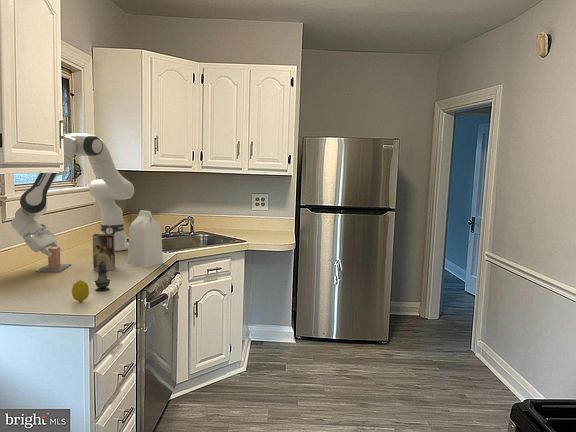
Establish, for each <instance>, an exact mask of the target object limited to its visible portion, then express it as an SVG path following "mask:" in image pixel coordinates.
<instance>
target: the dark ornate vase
mask: <svg viewBox="0 0 576 432" xmlns="http://www.w3.org/2000/svg"><path fill="white" fill-rule="evenodd" d="M107 272H108V270H106V263H105V262H104V261H103V260H101V262H100V263H99V264H98V271H97V273H98V276H97V278H96V279H95V280H94V284H95V287H97V288H96V289H95V292H98V293H99V292H100V293H101V292H102V293H103V292H108V291H111V288H110V287H109V286H110V284H111V281H112V280H111V279H109V278H108V277H107V276H108V274H107Z"/></svg>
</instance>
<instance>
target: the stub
mask: <svg viewBox="0 0 576 432" xmlns="http://www.w3.org/2000/svg"><path fill="white" fill-rule="evenodd" d="M60 249H61V247H60V246H58V247H51V246H50V247H48V248H47V250H48V251H51V252H52V253H53V255H52V256H50V257H48V256H47V263H48V264H47V265H48V268H58V267H60V264H61V251H60Z"/></svg>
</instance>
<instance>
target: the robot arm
mask: <svg viewBox="0 0 576 432" xmlns="http://www.w3.org/2000/svg"><path fill="white" fill-rule="evenodd" d="M64 135H65V136H64V171H63V172H59V173H40V172H39V173H38V176H37V177H36V179H35V181H34V182H33V184H32V186H31V187H29V188H28V189H27V190H26V191H24V193H22V195H21V196H20V199H19V200H20V204H21V208H19V209H18V210H17V211H16V213H15V218H14V219H13V220H12V221H11V225H12V227H13V228H12V227H11V228H12V229H14V230H15V231H16V232H17V234H18V235H19V236H20V237H21V238H22V239H23V240H24V242H25V244H26V245H27V247H29V249H30V250H31V251H32V252H34V253H40V252H41V253H42V254H44V255H46V256H47V258H48V257H50V256H52V255H53V253H52V252H51V251H48V248H50V247H59V246H58V244H57V242H59V239H58V237H56V235H55V234H54V233H53V232H52V231H51V230H50V229H48V226H47V225H45V224H44V223H40V222H37V220H36V219H38V218H40V217H41V216H44V215H45V213H46V211H47V209H48V207H47V205H48V204H47V194H48V191H49V189H50V188H51V186H52V183H53V181H54V180H55V179H56V178H57V176H58V177H59V176H62V175H64V174H65V173H66V171H67V170H68V169H69V167H70V165H71V163H72V161H73V159H74V157H75V156H80V157H83V156H84V157H87V158H88V161H89V163H90V166H91V169H92V172H93V174H94V175H95V176H96V177H97V178H99V179H94V180H91V182H90V184H89V185H88V186H89V187H88V188H89V189H88V190H89V191H88V192H89V194H90V195H91V196H92V197H93V198H94V199H95V200H96V202H97V204H98V206H99V210H100V218H101V224H100V233H99V232H98V234H114V238H115V252H119V251H124V250H125V251H126V250H127V251H128V246H129V240H128V238H127V235H126V232H125V231H124V230H125V224H124V220H123V219H124V218H123V217H124V216H123V210H122V208H121V207H120V206H119V205H117V204H116V202H115V201H116V200H117V201H125V200H128V199H131V198H132V197H133V196H134V194H135V187H134V185H133V183H132V182H131V181H129V180H128V179H126V178H125V177H124V176H123V175H121V173H120V172H119V171H118V169H117V168H116V166H115V163H114V161H113V157H112V155H111V153H110V151H109V148H108V146H107V145H106V143H105V142H104V140H103V139H102V138H100V137H99V136H97V135H94V134H88V133H82V132H80V133H71V132H69V133H65V134H64ZM61 251H62V249H61V248H60V252H61Z"/></svg>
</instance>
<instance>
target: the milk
mask: <svg viewBox="0 0 576 432" xmlns="http://www.w3.org/2000/svg"><path fill="white" fill-rule="evenodd" d="M161 226H162V225H160V223H159V222H158V221H157V220H156V219H155V218H154V217H153V216H152V212H151V211H150V210H143V209H142V210H139V213H138V216H137V217H136V218H134V220H133V221H132V222H131V224H130V225H129V229H128V243H129V246H128V249H127V251H128V252H127V265H132V266H137V267H141V268H147V267H153V266H156V265H157V266H158V265H162V264H164V260H163V259H164V258H163V256H164V255H163V242H162V241H163V240H162V227H161Z"/></svg>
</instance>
